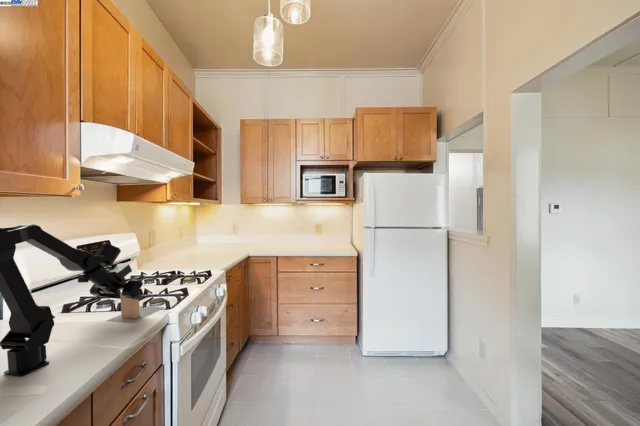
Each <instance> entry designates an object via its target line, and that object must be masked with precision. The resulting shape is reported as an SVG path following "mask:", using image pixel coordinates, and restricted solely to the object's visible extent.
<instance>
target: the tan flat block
mask: <svg viewBox="0 0 640 426" xmlns="http://www.w3.org/2000/svg"><path fill="white" fill-rule="evenodd" d="M139 307H140V300H136V299H130V298H126V297H124V296H123V295H122V293H120V310H121V313H120V315H121V317H122V318H137V317H139V316H140V311H139Z"/></svg>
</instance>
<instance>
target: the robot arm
mask: <svg viewBox="0 0 640 426" xmlns="http://www.w3.org/2000/svg"><path fill="white" fill-rule="evenodd" d="M24 242H26V243H28V244H29V245H32V246H34V247H35V248H38V249H39V250H41V251H43V252H44V253H47V254H48V255H50V256H52V257H54V258H56V259H57V260H58V261H59V264H60V265H61V266H63V267H64V268H65V269H66V270H68V271H70V272H82V273H80V274H78V276H77V277H78V278H77V282H78V283H80V284H81V283H89V282H91V283H92V284H93V285H91V288H90V289H89V293H90V294H91V295H92V296H95V297H100V298H101V297H102V298H109V299H116V300H117V299H118V300H119V299H120V294H122V295H123V296H124V297H126V298H130V299H136V300H139V301H141V300H142V298H143V297H142V294H141V292H140V289H141V288H142V286H143V284H144V282H143V281H142V280H140V279H132V278H131V279H129V280H127V282H124V281H125V280H126V276H127V275H129V274H130V273H132V271H133V270H132V268H131V265H130V263H127V262H125V263H117V264H116V263H115V261H116V260H117V258H118V257H119V255H120V254H121V252H122V251H121V249H120V248H119V247H117V246H115V245H114V244H110V243H108V242H102V243H101V245H100V246H99V248H98V249H97V251H96V252H95V253H92V252H89V251H86V250H83V249H80V248H76V247H72V246H71V245H69V244H68V243H66V242H64V241H63V240H61V239H60V238H58V237H56V236H55V235H53V234H51V233H49V232H48V231H46V230H44V229H43V228H42V227H41V226H39V225H37V224H32V223H30V224H28V223H27V224H18V225H15V226H14V225H13V226H9V227H2V228H1V227H0V295H1V297H2V299H3V300H4V302H5V304H6V306H7V308H8V310H9V312H10V316H9V320H8V326H9V331H8V332H7V333H5V334H6V335H5V336H3V338H2V339H1V341H0V347H1V349H2V350H6V356H7V357H6V358H7V370H5V371H3V375H8V376H14V377H15V376H16V377H23V376H25V375H27V374H30V373H31V372H34V371H36V370H38V369H40V368H42V367H44V366H47V365H48V364H50V361H49V360H47V346H46V344H48V343H49V342H50V337H51V334H52V330H53V327H54V326H55V321H54V319H55V318H56V316H55V315H53V313H52V309H51V307H50V306H49V305H38V304H37V303H36V302H35V299H34V297H33V295H32V293H31V291H30V288H29V287H28V285H27V283H26V281H25V279H24V277H23V275H22V273H21V270H20V269H19V267H18V264H17V263H16V261H15V257H14V256H15V253H16V248H17V246H16V245H17V244H22V243H24ZM119 290H122V291H121V293H120V292H119ZM120 300H121V299H120Z"/></svg>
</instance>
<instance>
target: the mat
mask: <svg viewBox="0 0 640 426" xmlns="http://www.w3.org/2000/svg"><path fill="white" fill-rule="evenodd" d="M142 306H143V305H139V311H140V316H139V317H137V318H122V317H121V314H119V315H117V316H115V317H112V318H110V319H107V320H106V322H112V323H125V324H135V323H136V322H139V321H140V320H143V319H144V318H146V317H149V316H151V315H153V314H155V313H156V312H159V311H161V310H163V309H165V308H166V307H164V306H152V305H150V306H149V305H145V306H146V307H144V308H143V307H142Z"/></svg>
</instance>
